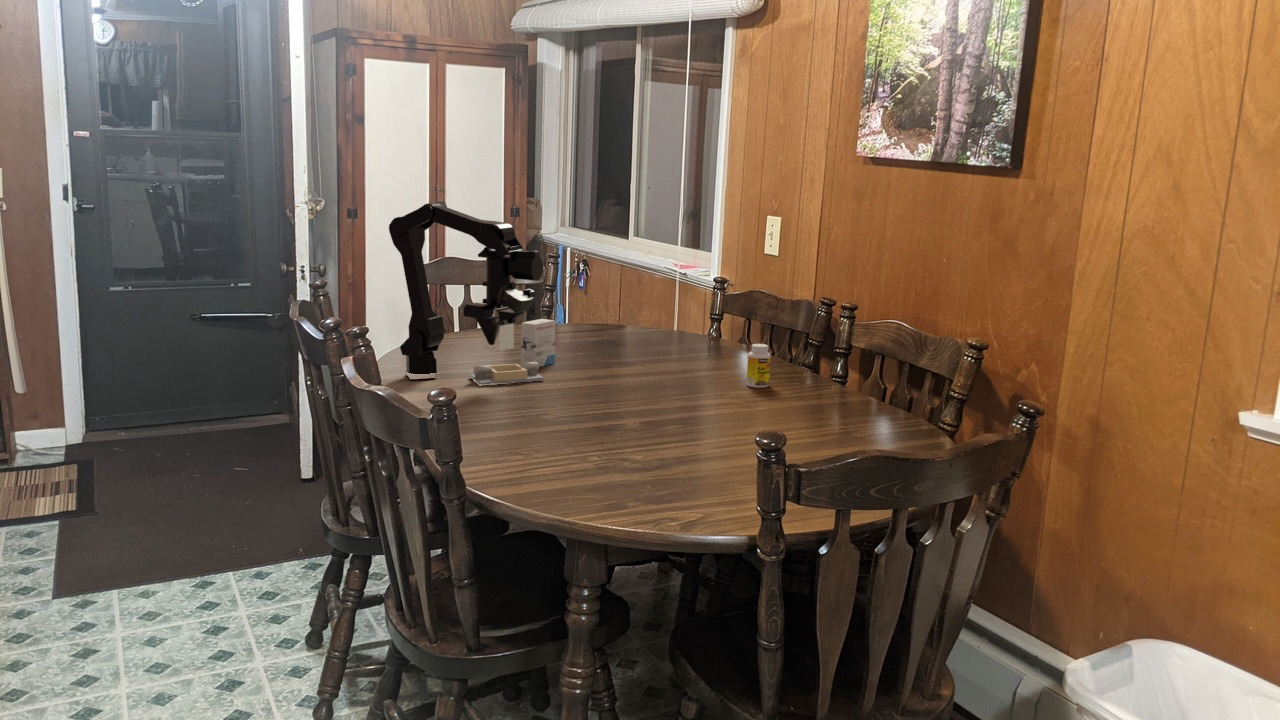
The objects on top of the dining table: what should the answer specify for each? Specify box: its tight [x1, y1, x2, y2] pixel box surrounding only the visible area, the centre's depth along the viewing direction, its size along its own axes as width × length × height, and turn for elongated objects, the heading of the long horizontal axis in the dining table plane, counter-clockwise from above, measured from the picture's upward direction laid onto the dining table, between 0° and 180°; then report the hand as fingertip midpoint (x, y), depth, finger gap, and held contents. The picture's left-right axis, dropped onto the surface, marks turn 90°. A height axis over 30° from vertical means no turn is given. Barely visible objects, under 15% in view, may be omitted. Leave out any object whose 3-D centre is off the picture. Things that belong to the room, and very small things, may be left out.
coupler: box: [483, 319, 515, 352], centre depth 236 cm, size 5×5×7 cm
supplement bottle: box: [746, 343, 772, 389], centre depth 245 cm, size 6×6×10 cm
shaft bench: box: [469, 362, 544, 384], centre depth 246 cm, size 16×9×4 cm, turn 115°
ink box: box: [520, 318, 557, 367], centre depth 262 cm, size 9×5×12 cm, turn 143°
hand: (498, 343), depth 236 cm, fingers closed on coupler, 5 cm apart
